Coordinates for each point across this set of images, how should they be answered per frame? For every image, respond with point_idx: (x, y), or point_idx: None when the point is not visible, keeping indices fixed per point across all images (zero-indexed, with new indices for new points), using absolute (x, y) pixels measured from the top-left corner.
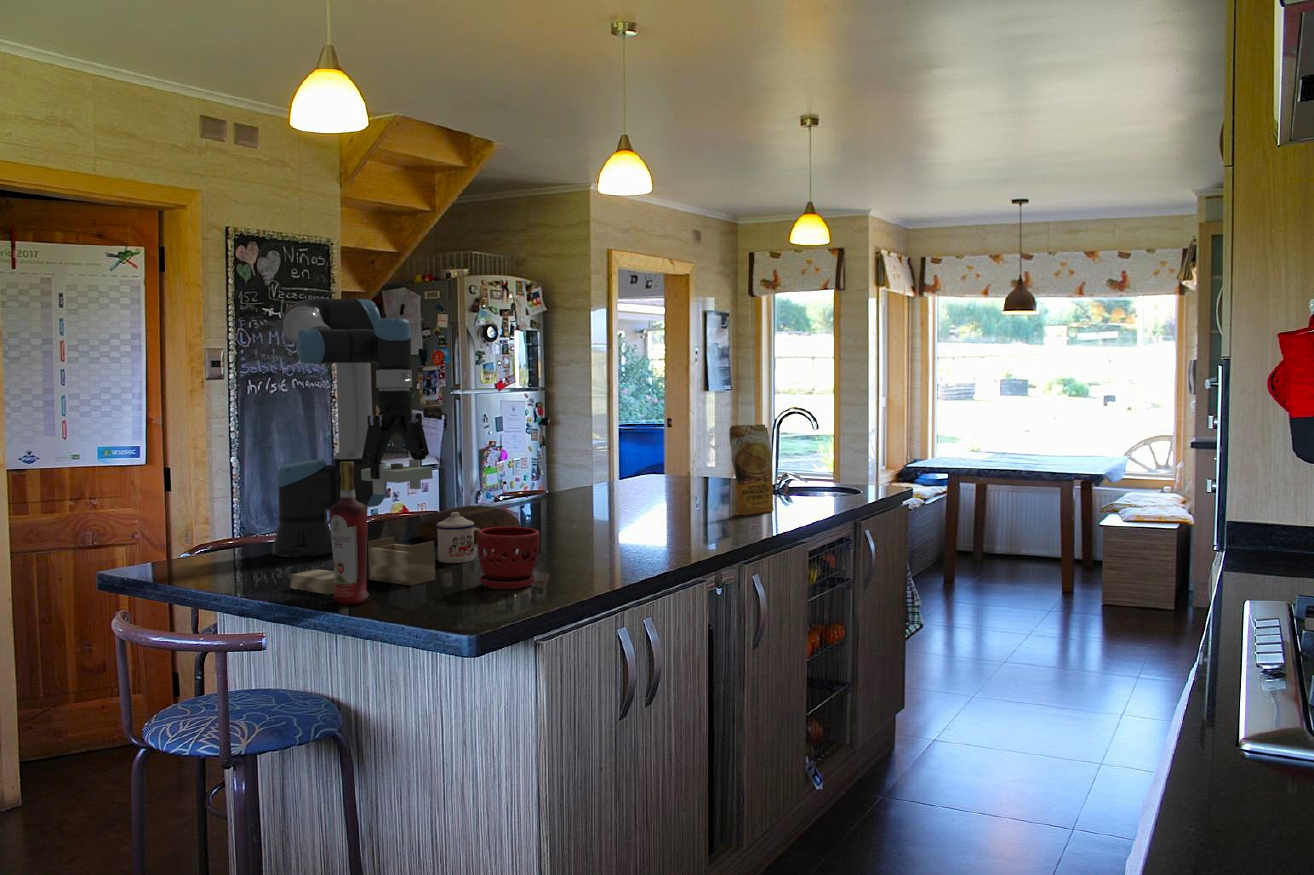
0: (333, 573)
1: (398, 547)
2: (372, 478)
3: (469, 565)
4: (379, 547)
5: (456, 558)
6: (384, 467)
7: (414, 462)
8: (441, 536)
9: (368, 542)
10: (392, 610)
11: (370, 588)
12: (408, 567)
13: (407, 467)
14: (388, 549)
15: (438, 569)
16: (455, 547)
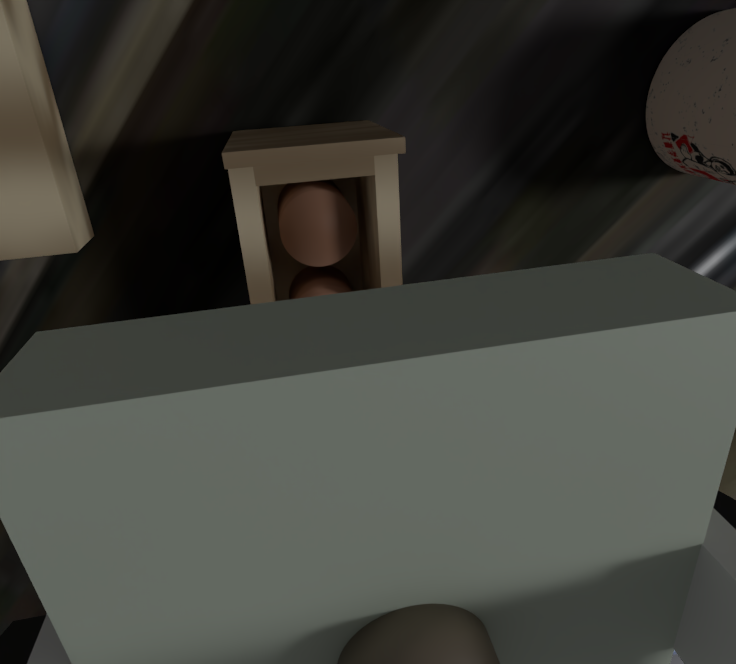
0: (5, 155)
1: (374, 207)
2: (17, 639)
3: (636, 229)
4: (275, 183)
5: (667, 157)
6: (427, 453)
7: (719, 660)
8: (732, 94)
9: (222, 155)
10: (27, 573)
11: (140, 283)
12: None
13: (559, 645)
14: (268, 271)
15: (530, 195)
16: (699, 162)
